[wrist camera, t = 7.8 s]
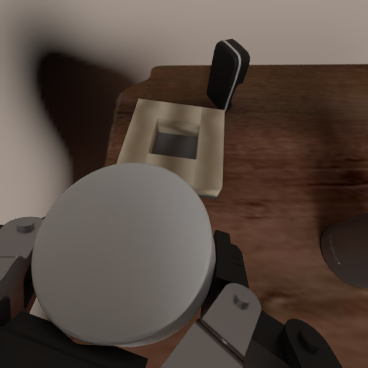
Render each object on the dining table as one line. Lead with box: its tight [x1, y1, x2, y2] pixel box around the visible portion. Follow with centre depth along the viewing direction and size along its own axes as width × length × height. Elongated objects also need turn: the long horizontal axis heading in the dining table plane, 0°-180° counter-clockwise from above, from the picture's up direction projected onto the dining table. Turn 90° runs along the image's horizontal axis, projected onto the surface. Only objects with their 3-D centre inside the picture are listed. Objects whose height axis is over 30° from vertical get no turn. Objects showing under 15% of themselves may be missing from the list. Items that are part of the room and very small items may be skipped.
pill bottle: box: [31, 163, 216, 347], centre depth 10 cm, size 6×6×11 cm
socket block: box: [117, 99, 225, 199], centre depth 33 cm, size 16×16×4 cm
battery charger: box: [207, 39, 250, 111], centre depth 37 cm, size 7×4×11 cm, turn 28°
